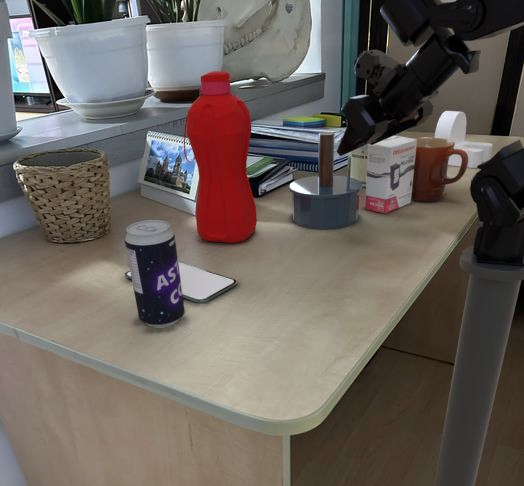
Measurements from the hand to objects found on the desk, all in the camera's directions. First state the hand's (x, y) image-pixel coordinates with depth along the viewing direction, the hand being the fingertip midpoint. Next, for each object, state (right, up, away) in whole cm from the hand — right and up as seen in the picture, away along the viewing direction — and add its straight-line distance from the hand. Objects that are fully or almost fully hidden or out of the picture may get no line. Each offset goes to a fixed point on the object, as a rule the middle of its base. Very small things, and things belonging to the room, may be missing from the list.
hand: (354, 148), depth 88 cm
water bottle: (-22, -13, +5) cm, 26 cm away
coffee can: (+8, +4, +30) cm, 31 cm away
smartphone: (-27, -23, -11) cm, 37 cm away
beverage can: (-27, -29, -20) cm, 45 cm away
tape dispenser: (+30, +13, +43) cm, 53 cm away
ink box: (+9, -6, +14) cm, 18 cm away
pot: (-4, -9, +10) cm, 14 cm away
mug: (+18, -4, +17) cm, 25 cm away
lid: (-4, -4, +7) cm, 9 cm away
